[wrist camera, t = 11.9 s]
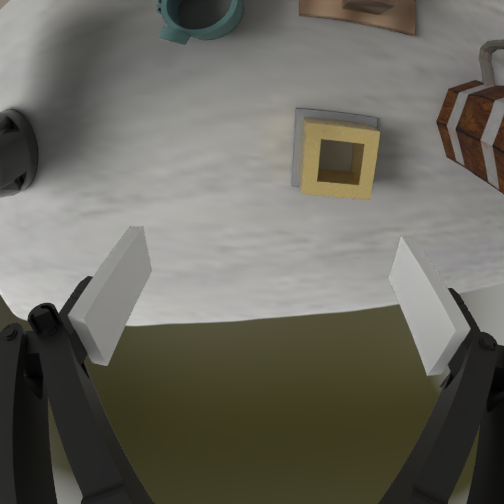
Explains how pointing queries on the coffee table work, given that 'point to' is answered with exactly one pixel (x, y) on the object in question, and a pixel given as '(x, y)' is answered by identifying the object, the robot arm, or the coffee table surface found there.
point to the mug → (476, 123)
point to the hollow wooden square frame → (332, 180)
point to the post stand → (365, 12)
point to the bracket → (169, 10)
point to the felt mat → (326, 142)
